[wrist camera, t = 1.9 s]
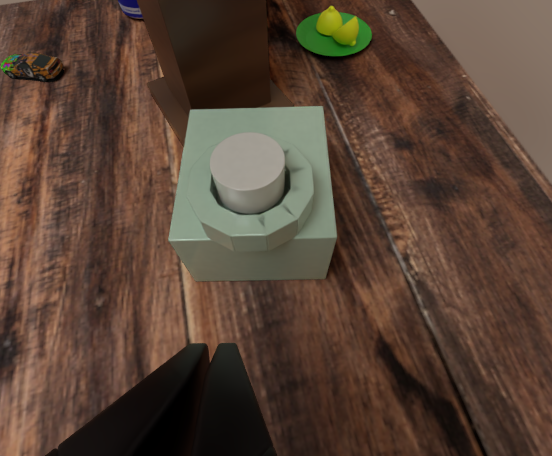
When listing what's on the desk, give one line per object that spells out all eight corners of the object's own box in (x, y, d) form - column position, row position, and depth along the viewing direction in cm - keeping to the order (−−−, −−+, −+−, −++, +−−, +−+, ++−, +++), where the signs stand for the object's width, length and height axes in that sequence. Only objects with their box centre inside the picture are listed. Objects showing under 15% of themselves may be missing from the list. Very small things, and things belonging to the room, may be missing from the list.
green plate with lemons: (384, 34, 37) (391, 7, 34) (342, 72, 34) (346, 45, 31) (325, 9, 39) (327, -18, 37) (280, 42, 36) (280, 15, 34)
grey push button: (285, 213, 17) (285, 189, 15) (214, 215, 17) (206, 191, 15) (284, 158, 19) (284, 130, 17) (219, 159, 19) (212, 132, 17)
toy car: (16, 61, 36) (4, 45, 34) (69, 67, 35) (58, 51, 34) (2, 78, 35) (-11, 62, 33) (56, 84, 34) (45, 68, 32)
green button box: (326, 290, 23) (344, 233, 16) (193, 292, 23) (153, 237, 16) (316, 165, 28) (326, 82, 21) (208, 168, 28) (182, 86, 21)
